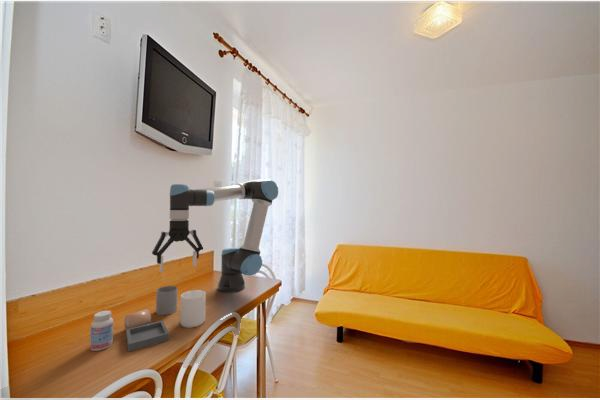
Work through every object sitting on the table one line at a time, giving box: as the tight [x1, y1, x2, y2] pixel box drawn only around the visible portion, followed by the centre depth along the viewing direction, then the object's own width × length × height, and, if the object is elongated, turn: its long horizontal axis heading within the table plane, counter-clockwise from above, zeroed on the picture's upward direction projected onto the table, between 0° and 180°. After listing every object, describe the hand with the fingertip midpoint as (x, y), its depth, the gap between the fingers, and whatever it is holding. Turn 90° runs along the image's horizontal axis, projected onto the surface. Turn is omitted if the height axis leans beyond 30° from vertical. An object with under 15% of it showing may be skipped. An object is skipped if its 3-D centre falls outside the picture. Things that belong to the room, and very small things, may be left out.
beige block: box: [123, 308, 152, 330], centre depth 99 cm, size 7×6×6 cm
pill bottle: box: [89, 310, 114, 352], centre depth 86 cm, size 6×6×11 cm
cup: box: [155, 285, 179, 316], centre depth 115 cm, size 8×8×10 cm
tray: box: [125, 320, 170, 352], centre depth 92 cm, size 12×12×2 cm
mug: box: [179, 289, 207, 329], centre depth 105 cm, size 10×12×12 cm
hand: (178, 268), depth 110 cm, fingers open, 13 cm apart
